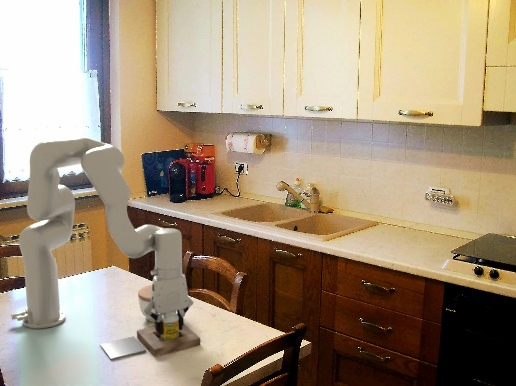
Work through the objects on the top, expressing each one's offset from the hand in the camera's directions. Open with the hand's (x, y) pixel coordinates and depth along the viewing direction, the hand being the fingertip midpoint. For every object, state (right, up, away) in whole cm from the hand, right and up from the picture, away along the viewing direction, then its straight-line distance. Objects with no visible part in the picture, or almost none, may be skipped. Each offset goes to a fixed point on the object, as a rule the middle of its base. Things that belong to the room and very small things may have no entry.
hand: (169, 330), depth 166 cm
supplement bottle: (0, -3, +1) cm, 3 cm away
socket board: (0, -3, 0) cm, 3 cm away
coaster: (-13, -4, -5) cm, 14 cm away
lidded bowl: (-6, 0, +16) cm, 18 cm away
